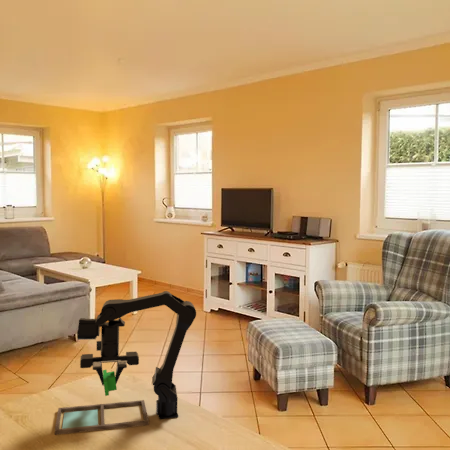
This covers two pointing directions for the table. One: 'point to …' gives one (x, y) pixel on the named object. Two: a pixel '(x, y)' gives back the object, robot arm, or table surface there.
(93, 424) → the sorting frame
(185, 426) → the table surface
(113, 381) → the pipe clamp
